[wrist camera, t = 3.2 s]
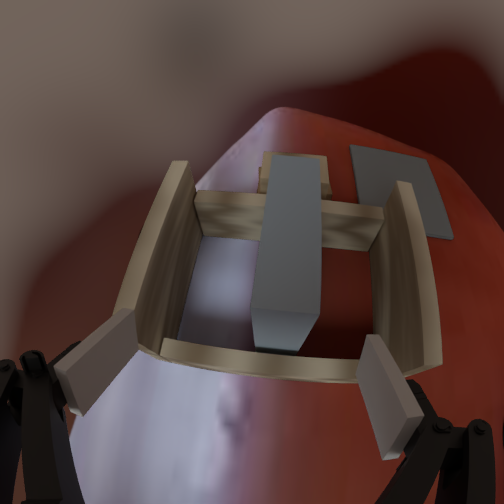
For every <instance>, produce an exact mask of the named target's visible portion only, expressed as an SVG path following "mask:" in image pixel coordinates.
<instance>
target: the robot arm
mask: <svg viewBox="0 0 504 504" xmlns="http://www.w3.org/2000/svg"><path fill="white" fill-rule="evenodd" d="M138 350H139V347H138V339H137V332H136V323H135V314H134V310H133V309H127V308H122V309H121V310H120V311H118V312H117V313H116V314H115V315H114V316H112V317H111V318H110V319H109V320H107V321H106V322H105V323H104V324H103V325H101V326H100V327H99V328H98V329H96V331H94V332H93V333H92V334H90V335H89V336H88V337H87V338H86V339H84V340H83V341H82V342H81V341H78V342H76V343H74V344H72V345H70V346H69V347H68V348H67V349H66V350H65V351H63V352H62V353H61V354H59V355H58V356H57V357H56V358H55V359H54V360H52V361H51V362H50V363H49V364H46V361H45V358H44V355H43V353H42V352H40V351H37V350H31V351H27V352H25V353H23V354H22V355H21V356H20V358H19V360H20V362H21V365H22V368H23V370H24V371H22V370H18V369H17V368H16V365H15V363H14V362H13V361H12V360H9V359H4V360H1V361H0V504H12V500H13V493H14V485H15V479H16V472H17V467H18V462H19V457H20V452H21V448H22V462H23V463H22V464H23V474H24V484H25V492H26V501H22V502H21V504H85V502H84V499H83V496H82V493H81V489H80V486H79V482H78V478H77V474H76V470H75V466H74V461H73V457H72V452H71V447H70V442H69V436H68V430H67V423H66V416H65V411H64V408H63V407H64V406H65V405H66V403H67V404H68V407H69V409H70V411H71V412H72V413H75V414H77V415H79V416H81V417H83V416H84V415H85V414H86V413H87V411H88V410H89V409H90V408H91V407H92V405H93V404H94V403H95V402H96V400H97V399H98V398H99V397H100V396H101V394H102V393H103V392H104V391H105V389H106V388H107V387H108V386H109V385H110V383H111V382H112V381H113V380H114V379H115V377H116V376H117V375H118V374H119V373H120V371H121V370H122V369H123V368H124V367H125V365H126V364H127V363H128V362H129V361H130V359H131V358H132V357H133V356H134V355H135V353H136V352H137V351H138ZM355 375H356V378H357V380H358V383H359V386H360V389H361V392H362V395H363V398H364V401H365V405H366V408H367V411H368V414H369V417H370V420H371V424H372V427H373V430H374V433H375V437H376V440H377V443H378V447H379V450H380V454H381V457H382V460H389V459H395V458H398V457H399V456H400V454H401V453H402V451H403V450H404V452H405V455H406V457H405V458H404V460H403V461H402V462H401V464H400V465H399V466H398V468H397V469H396V470H397V471H396V473H395V474H394V476H393V477H392V479H391V481H390V482H389V484H388V485H387V487H386V488H385V490H384V491H383V492H382V494H381V495H380V497H379V498H378V499H377V501H376V502H375V504H423V503H424V501H425V500H426V498H427V496H428V494H429V492H430V489H431V487H432V485H433V483H434V481H435V479H436V476H437V474H438V472H439V470H440V474H439V481H438V488H437V494H436V499H435V504H495V457H494V445H493V436H492V429H491V426H490V425H489V424H488V423H487V422H486V421H484V420H481V419H475V420H472V421H471V422H470V423H469V425H468V426H467V428H462V427H453V425H452V423H451V422H450V421H449V420H447V419H445V418H441V417H438V416H437V414H436V412H435V411H434V409H433V407H432V405H431V404H430V402H429V400H428V399H427V397H426V395H425V393H424V391H423V390H422V388H421V386H420V385H419V384H418V383H416V382H415V381H414V380H413V379H411V380H405V378H404V376H403V375H402V373H401V371H400V369H399V368H398V366H397V364H396V362H395V361H394V359H393V357H392V355H391V354H390V352H389V350H388V349H387V347H386V345H385V343H384V342H383V340H382V338H381V337H380V335H373V334H367V335H366V339H365V343H364V347H363V350H362V354H361V357H360V361H359V364H358V367H357V371H356V374H355ZM7 401H9V402H8V404H7ZM503 445H504V429H503Z"/></svg>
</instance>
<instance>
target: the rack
mask: <svg viewBox="0 0 504 504" xmlns="http://www.w3.org/2000/svg"><path fill="white" fill-rule="evenodd" d="M266 195H267V194H255V193H241V192H225V191H206V190H198V191H197V192H196V188H195V184H194V181H193V177H192V173H191V169H190V165H189V161H173V162H172V164H171V166H170V168H169V170H168V172H167V174H166V176H165V179H164V181H163V183H162V185H161V187H160V189H159V192H158V194H157V196H156V198H155V200H154V203H153V205H152V207H151V210H150V212H149V214H148V217H147V219H146V222H145V224H144V226H143V229H142V231H141V234H140V236H139V239H138V242H137V244H136V247H135V250H134V252H133V255H132V258H131V260H130V263H129V266H128V269H127V272H126V274H125V278H124V280H123V283H122V286H121V289H120V292H119V295H118V299H117V302H116V305H115V309H114V312H113V315H112V316H114V315H115V314H116V313H117V312H118V311H120V310H121V309H122V308H127V309H133V310H134V314H135V323H136V332H137V339H138V347H139V350H141V351H143V352H144V353H146V354H148V355H150V356H152V357H154V358H155V359H158V360H162V361H167V362H171V363H172V362H173V363H176V364H181V365H185V366H190V367H196V368H201V369H207V370H212V371H218V372H225V373H231V374H238V375H246V376H253V377H262V378H271V379H281V380H293V381H307V382H327V383H358V380H357V378H356V375H355V374H356V371H357V367H358V364H359V361H360V360H353V359H328V358H311V357H298V356H286V355H276V354H266V353H257V352H249V351H241V350H234V349H227V348H220V347H214V346H207V345H201V344H195V343H190V342H184V341H179V340H177V336H178V331H179V327H180V322H181V318H182V314H183V310H184V305H185V301H186V297H187V293H188V289H189V285H190V281H191V277H192V273H193V269H194V265H195V261H196V258H197V254H198V250H199V246H200V243H201V239H202V235H203V234H204V236H211V237H222V238H233V239H244V240H255V241H260V237H261V230H262V223H263V216H264V209H265V202H266ZM321 219H322V247H328V248H337V249H347V250H357V251H366V252H367V251H368V250H369V257H370V270H371V285H372V305H373V335H380V337H381V338H382V340H383V342H384V343H385V345H386V347H387V349H388V350H389V352H390V354H391V355H392V357H393V359H394V361H395V362H396V364H397V366H398V368H399V369H400V371H401V373H402V375H403V376H404V377H407V376H410V375H413V374H416V373H419V372H422V371H425V370H428V369H431V368H434V367H436V366H439V365H442V342H441V328H440V318H439V309H438V300H437V293H436V286H435V280H434V274H433V268H432V263H431V258H430V253H429V248H428V243H427V239H426V235H425V230H424V226H423V222H422V219H421V215H420V211H419V207H418V204H417V200H416V197H415V194H414V191H413V187H412V184H411V183H408V182H403V181H396V183H395V185H394V187H393V189H392V192H391V194H390V196H389V198H388V200H387V202H386V205H385V207H384V209H382V207H375V206H368V205H361V204H353V203H345V202H337V201H329V200H321Z"/></svg>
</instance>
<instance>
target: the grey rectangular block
mask: <svg viewBox="0 0 504 504" xmlns="http://www.w3.org/2000/svg"><path fill="white" fill-rule="evenodd" d="M321 263H322V219H321V181H320V159H316V158H306V157H296V156H285V155H272V159H271V166H270V173H269V180H268V188H267V195H266V202H265V209H264V216H263V223H262V230H261V237H260V244H259V250H258V257H257V264H256V271H255V278H254V285H253V292H252V298H251V305H250V310H251V318H252V326H253V334H254V342H255V350H256V352H257V353H266V354H276V355H286V356H296V354H297V353H298V351H299V349H300V348H301V346H302V344H303V343H304V341H305V339H306V337H307V336H308V334H309V332H310V331H311V329H312V327H313V325H314V324H315V322H316V320H317V318H318V317H319V315H320V301H321Z"/></svg>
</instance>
